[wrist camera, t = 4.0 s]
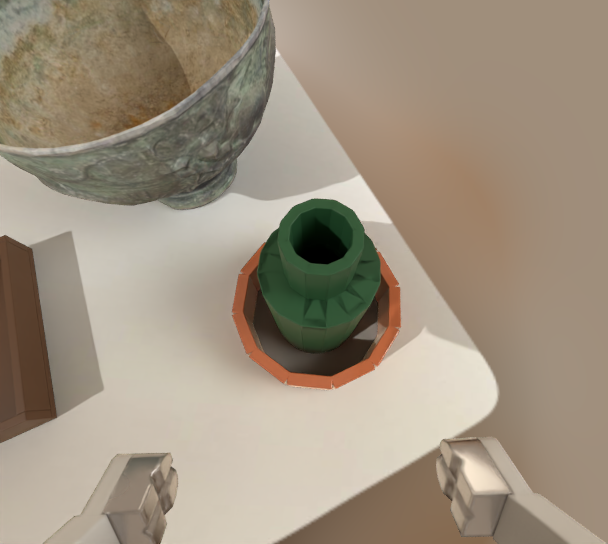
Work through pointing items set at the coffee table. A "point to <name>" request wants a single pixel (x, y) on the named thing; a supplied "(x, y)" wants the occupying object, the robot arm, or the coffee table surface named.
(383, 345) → the orange ring
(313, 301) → the bottle
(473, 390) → the coffee table surface
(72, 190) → the bowl
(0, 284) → the tray
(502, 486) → the robot arm
